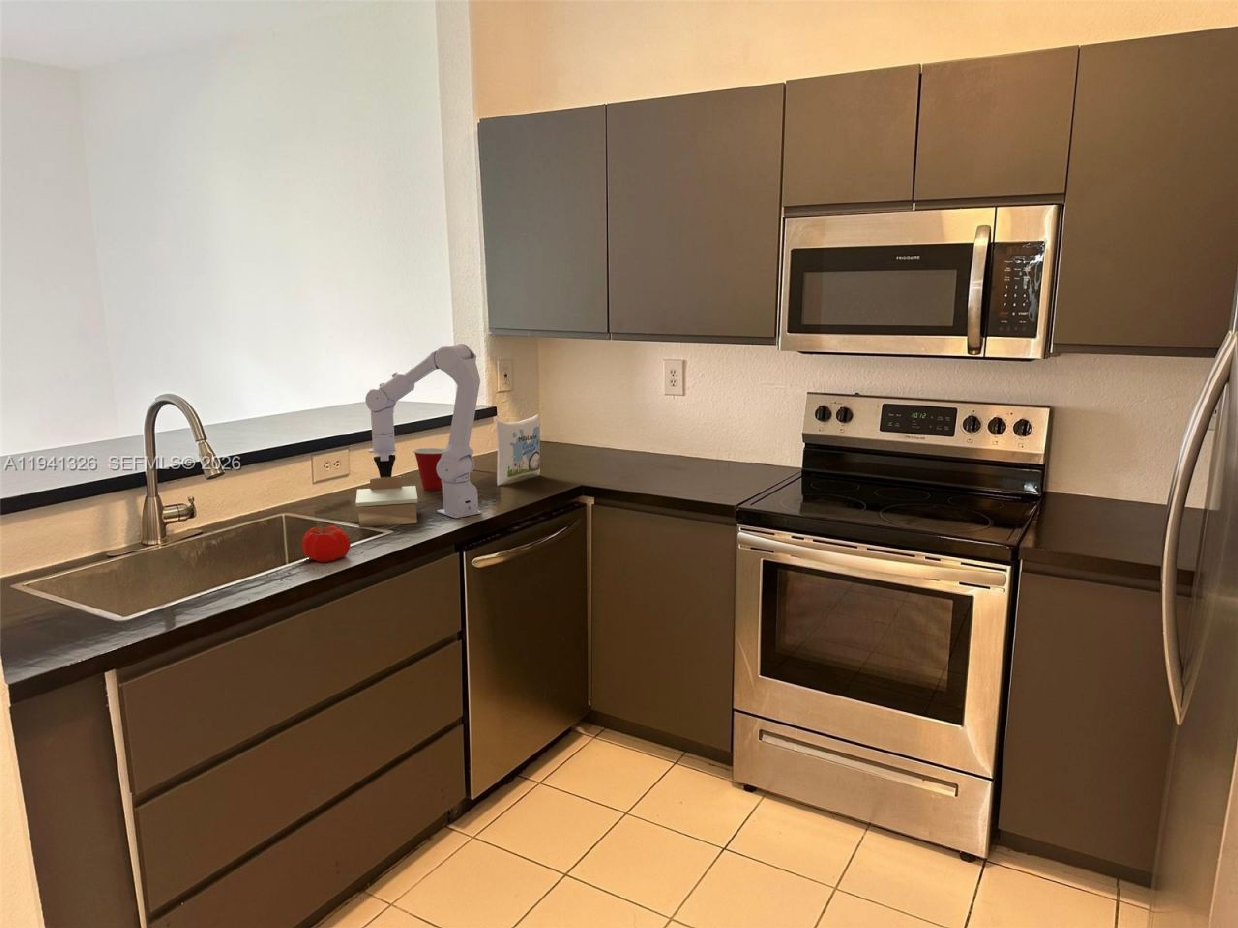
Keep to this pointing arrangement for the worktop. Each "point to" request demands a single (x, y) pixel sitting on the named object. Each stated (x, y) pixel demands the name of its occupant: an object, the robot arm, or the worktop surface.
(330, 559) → the tomato
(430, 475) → the plastic cup
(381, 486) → the lid
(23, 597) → the worktop surface
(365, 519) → the storage box
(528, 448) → the pouch
